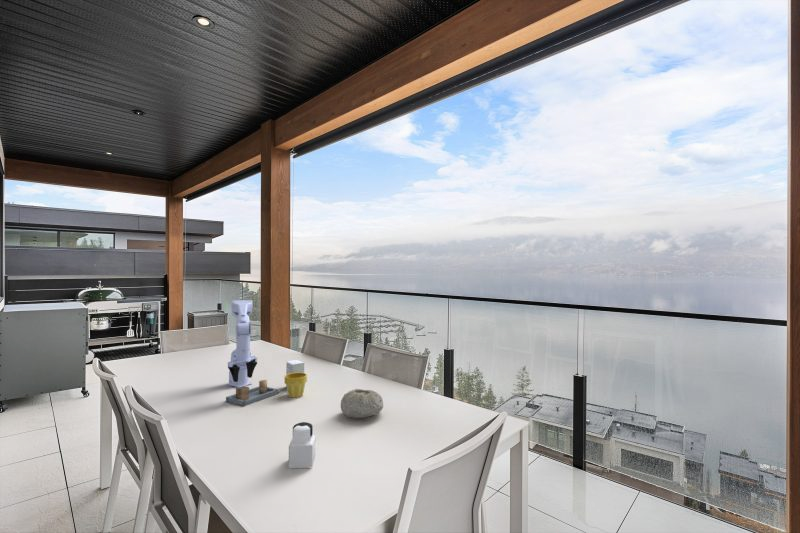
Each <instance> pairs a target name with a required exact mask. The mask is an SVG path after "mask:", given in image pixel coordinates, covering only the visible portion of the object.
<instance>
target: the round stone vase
mask: <svg viewBox="0 0 800 533" xmlns="http://www.w3.org/2000/svg"><path fill="white" fill-rule="evenodd" d="M383 408H384V399H383V397H382V396H381V394H379V393H378V392H376V391H374V390H372V389H360V388H355V389H352V390H349V391H348V392H346V393H344V395H343V396H342V398H341V401H340V410H341V412H342V414H343V415H345V416H347V417H350V418H354V419H362V418H363V419H364V418H367V417H371V416H375V415H377V414H379V413H380V412H381V411H383Z"/></svg>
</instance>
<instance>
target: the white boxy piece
mask: <svg viewBox="0 0 800 533" xmlns="http://www.w3.org/2000/svg"><path fill="white" fill-rule="evenodd" d="M313 427H314V426H313V424H311V423H310V422H307V421H306V422H305V421H302V422H298V423H296V424H293V427H292V437H291V440H290V442H289V445H288V469H289V468H297V469H307V468H306V467H312V468H313V466H314V462H315V459H316V435H314V434H313V429H314V428H313Z"/></svg>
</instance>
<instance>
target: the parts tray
mask: <svg viewBox="0 0 800 533" xmlns="http://www.w3.org/2000/svg"><path fill="white" fill-rule="evenodd" d="M279 393H280V389H279V388H274V387H269V386H267V393H264V394H260V393H259V385H258V386H256V387H252V388H249V399H248V400H245V401H244V400H241V399H237V398H236V393H235V394H231V395H229V396H226V397H225V402H227V403H230V404H233V403H234V405H237V404H238V405H237V406H241V405H242V406H241V407H247V406H249V405H252V404H255V403H257V402H260V401H262V400H265V399H267V398H271V397H274V396H276V395H279ZM254 402H255V403H254ZM246 405H247V406H246Z"/></svg>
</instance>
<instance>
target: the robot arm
mask: <svg viewBox="0 0 800 533" xmlns="http://www.w3.org/2000/svg"><path fill="white" fill-rule="evenodd" d="M252 313H253V300H252V299H249V300H248V299H244V300H239V299H238V300H234V299H233V300H232V301H231V315H232V317H235V320H236V321H235V322H236V324H235V339H236V342H235V343H236V344H235V346H236V348H235V349H234V350H232V352H231V353H230V361H228V362H227V368H228V383H227V384H226V385H227V386H231V387H235V388H238V387H241V386H246V387H248V386H249V385H252V384H253V382H250V381H249V378H253V374H254V370H255V369H256V366H257V365H258V355H252V351H251V334H252V324H251V321H250V316H251V315H252Z"/></svg>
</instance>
